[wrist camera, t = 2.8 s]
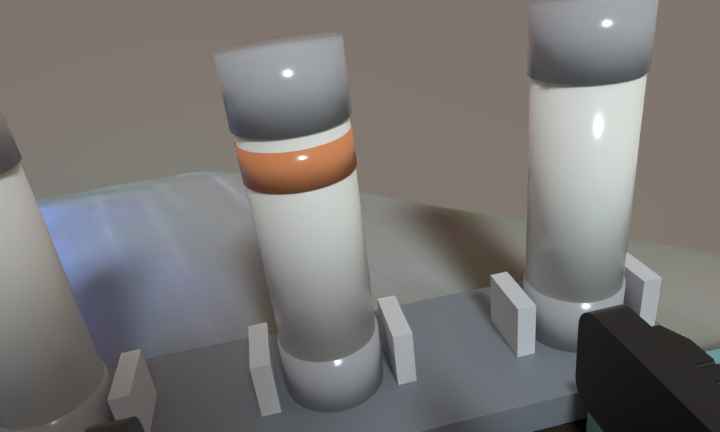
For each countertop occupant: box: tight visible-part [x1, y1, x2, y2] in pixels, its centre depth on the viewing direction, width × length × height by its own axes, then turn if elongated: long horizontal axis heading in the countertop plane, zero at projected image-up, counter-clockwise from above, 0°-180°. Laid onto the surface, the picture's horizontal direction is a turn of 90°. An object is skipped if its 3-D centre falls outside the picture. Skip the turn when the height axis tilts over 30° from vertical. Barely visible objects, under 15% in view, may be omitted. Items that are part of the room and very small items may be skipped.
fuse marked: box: [213, 32, 384, 413], centre depth 21 cm, size 4×4×14 cm
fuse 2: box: [523, 0, 658, 353], centre depth 22 cm, size 4×4×14 cm
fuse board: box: [107, 252, 661, 432], centre depth 24 cm, size 29×8×4 cm, turn 102°
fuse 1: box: [0, 105, 115, 432], centre depth 20 cm, size 4×4×14 cm
